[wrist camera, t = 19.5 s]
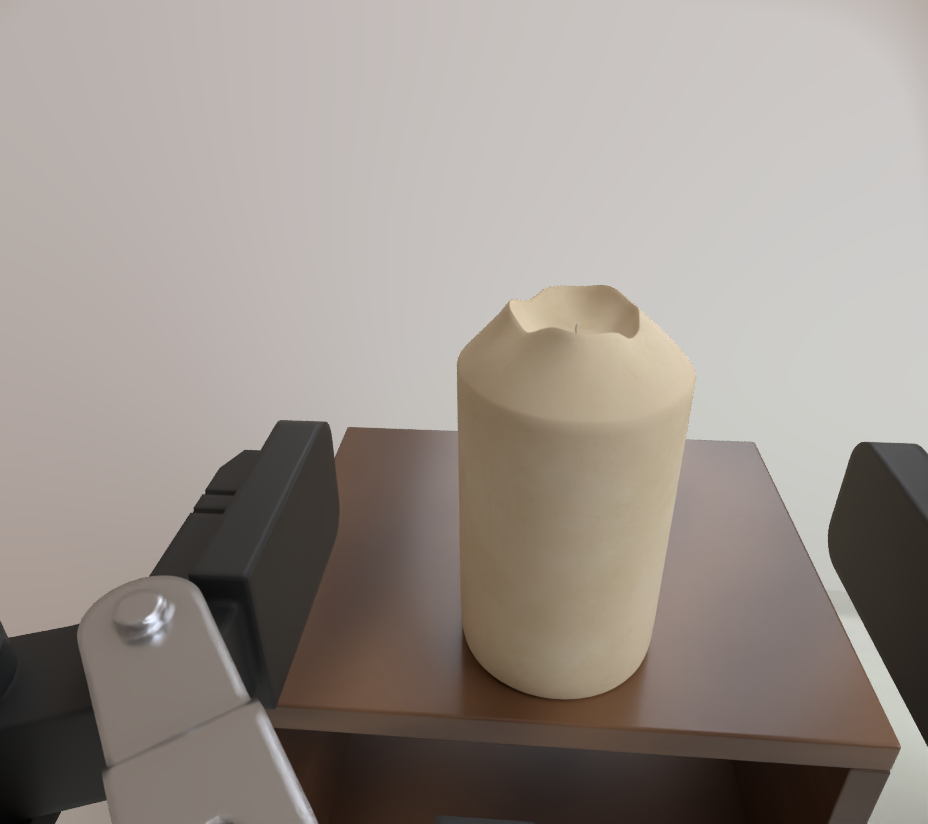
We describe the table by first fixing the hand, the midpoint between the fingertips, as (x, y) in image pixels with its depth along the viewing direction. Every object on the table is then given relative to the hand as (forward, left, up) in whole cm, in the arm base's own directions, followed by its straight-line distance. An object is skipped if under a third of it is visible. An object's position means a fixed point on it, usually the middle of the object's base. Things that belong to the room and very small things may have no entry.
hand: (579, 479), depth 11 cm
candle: (0, +6, -10) cm, 11 cm away
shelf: (0, +10, -21) cm, 23 cm away
